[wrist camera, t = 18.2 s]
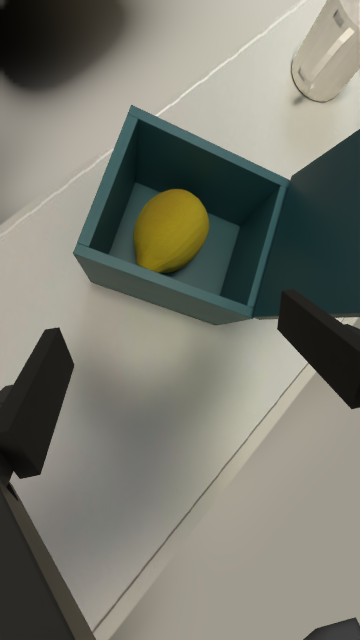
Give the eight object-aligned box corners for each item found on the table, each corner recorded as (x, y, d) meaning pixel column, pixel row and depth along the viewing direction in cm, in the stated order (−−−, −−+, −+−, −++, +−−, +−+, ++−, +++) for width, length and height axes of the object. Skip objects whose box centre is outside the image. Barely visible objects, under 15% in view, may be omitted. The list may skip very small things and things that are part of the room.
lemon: (171, 197, 33) (184, 153, 25) (213, 240, 34) (238, 210, 26) (111, 251, 31) (105, 222, 23) (157, 296, 32) (166, 282, 24)
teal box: (90, 282, 31) (72, 253, 21) (130, 176, 33) (131, 104, 23) (215, 325, 34) (253, 318, 24) (245, 225, 36) (291, 180, 26)
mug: (315, 40, 41) (367, -44, 32) (349, 85, 42) (410, 15, 33) (267, 75, 39) (309, -6, 30) (304, 122, 40) (357, 57, 31)
